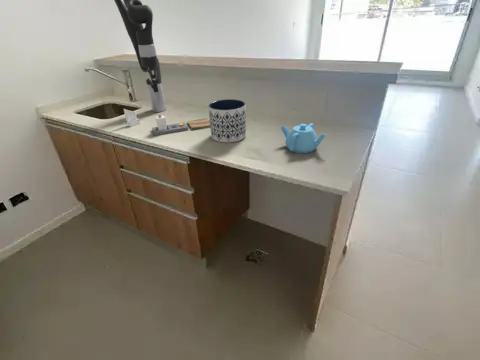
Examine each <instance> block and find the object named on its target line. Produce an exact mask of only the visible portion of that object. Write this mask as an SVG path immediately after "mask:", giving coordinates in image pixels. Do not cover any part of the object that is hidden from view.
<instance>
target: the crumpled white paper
mask: <svg viewBox="0 0 480 360" xmlns="http://www.w3.org/2000/svg"><path fill="white" fill-rule="evenodd" d="M123 112H124V116H125V119H126V124H127V126H128V127H130V126H131V128H132V127H135V126H137V125H140V124H141V122H140V119H139V118H137V117H138V116H137V114H136V111H133V110H129V109H127V108H123Z"/></svg>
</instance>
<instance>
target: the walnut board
mask: <svg viewBox="0 0 480 360" xmlns="http://www.w3.org/2000/svg"><path fill="white" fill-rule="evenodd" d="M186 122H187V124H186V125H187V126H189V128H190V129H191V131H194V130H200V129H207V128H210V119H208V117H207V118H205V117H204V118H201V119H194V120H188V121H186Z"/></svg>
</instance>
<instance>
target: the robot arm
mask: <svg viewBox="0 0 480 360" xmlns="http://www.w3.org/2000/svg"><path fill="white" fill-rule="evenodd" d="M114 3H115V5H116V7H117V9H118V12H119V13H120V14H119V15H120V17H121V19H122V22H123V25H124V27H125V30H126V32H127V35H128V36H129V39H130V41H131V44H132V46H133V48H134V52H135V55H136V58H137V60H138V63H139V67H140V69H141V70H142V72H144V73H147V77H148V78H146V80H145V81H146V82H145V83H146V85H147V91H148V95H149V101H150V105H151V111H152V112H154V113H159V112H160V113H161V112H164V111H166V110H167V105H166V99H165V95H164V89H163V84H162V73H161V65H160V60H159V58H158V56H157V51H156V46H155V43H154V37H153V19H154V18H153V17H154V14H153V10H152V8H151V7H150V6H149V5H147V4H143V3H142V1H141V0H123V1H122V0H114ZM144 24H145V25H144Z"/></svg>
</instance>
